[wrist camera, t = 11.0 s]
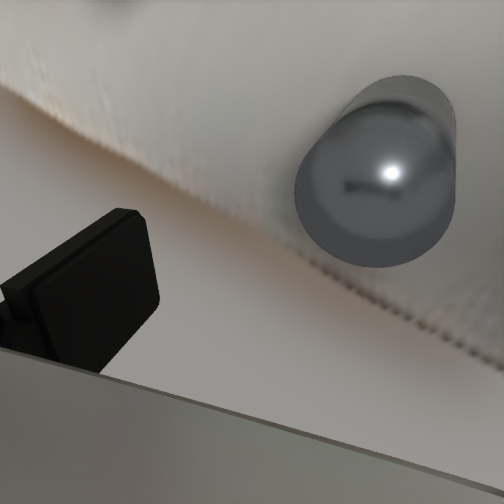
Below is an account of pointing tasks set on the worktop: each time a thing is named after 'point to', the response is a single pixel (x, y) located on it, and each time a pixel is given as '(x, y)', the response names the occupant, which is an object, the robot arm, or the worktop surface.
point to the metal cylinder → (382, 175)
